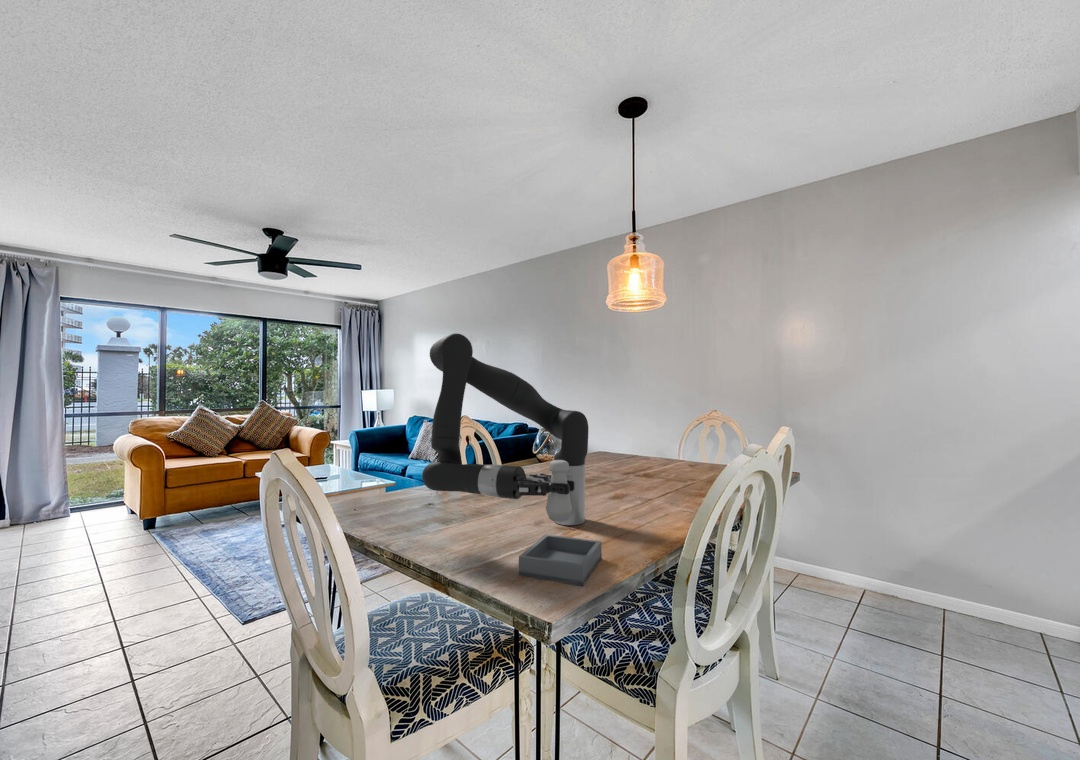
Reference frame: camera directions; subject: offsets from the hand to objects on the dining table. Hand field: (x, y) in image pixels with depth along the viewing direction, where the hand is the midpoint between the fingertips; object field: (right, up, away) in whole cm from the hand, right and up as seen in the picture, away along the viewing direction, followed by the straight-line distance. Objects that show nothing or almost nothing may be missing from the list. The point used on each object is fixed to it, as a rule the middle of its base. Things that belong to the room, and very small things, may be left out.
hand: (571, 487), depth 99 cm
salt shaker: (-3, -7, +1) cm, 8 cm away
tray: (-2, -18, 0) cm, 18 cm away
